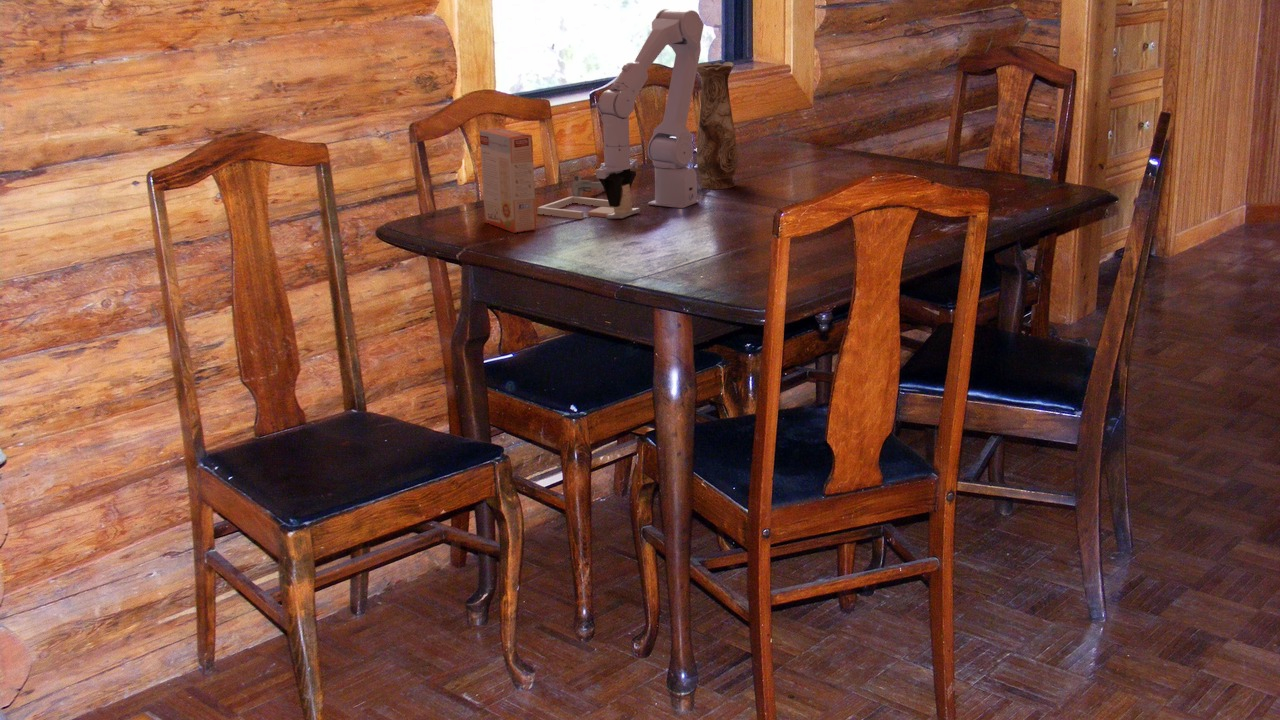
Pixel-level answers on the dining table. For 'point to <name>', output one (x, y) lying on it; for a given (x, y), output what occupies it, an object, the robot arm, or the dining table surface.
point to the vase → (716, 128)
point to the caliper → (583, 186)
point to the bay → (553, 207)
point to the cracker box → (508, 179)
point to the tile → (601, 211)
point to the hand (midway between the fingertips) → (618, 204)
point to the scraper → (624, 204)
